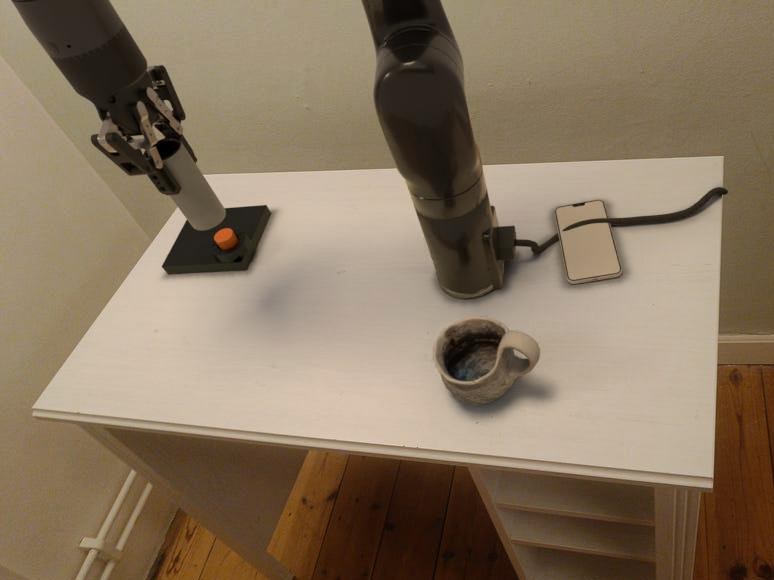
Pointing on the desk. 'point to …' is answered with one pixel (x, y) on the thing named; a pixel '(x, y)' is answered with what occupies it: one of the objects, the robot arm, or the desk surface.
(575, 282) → the smartphone
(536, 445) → the desk surface
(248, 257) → the dark grey flat block
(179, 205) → the grey cylinder
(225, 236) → the button
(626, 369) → the desk surface
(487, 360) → the mug
